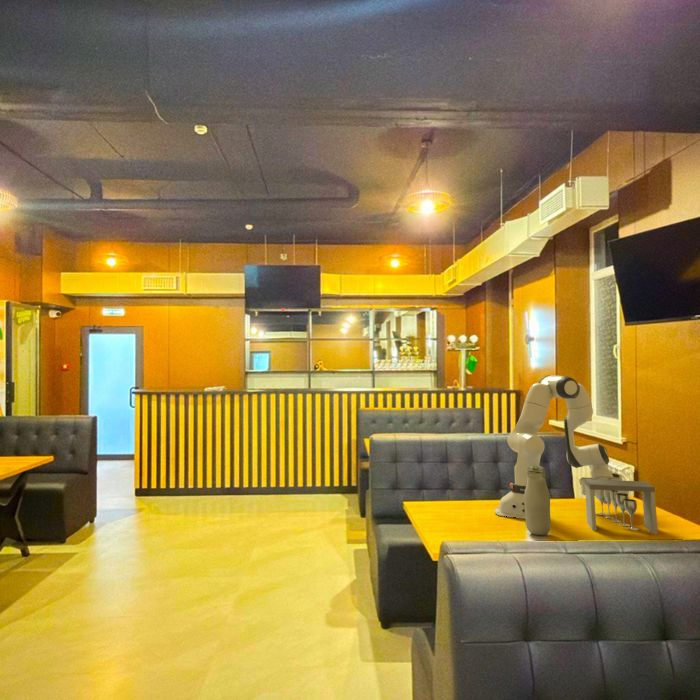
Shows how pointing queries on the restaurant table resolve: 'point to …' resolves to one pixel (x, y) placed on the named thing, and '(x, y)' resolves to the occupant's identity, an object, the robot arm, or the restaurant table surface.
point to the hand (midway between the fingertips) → (607, 503)
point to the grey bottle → (537, 501)
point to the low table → (617, 485)
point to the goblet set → (617, 504)
